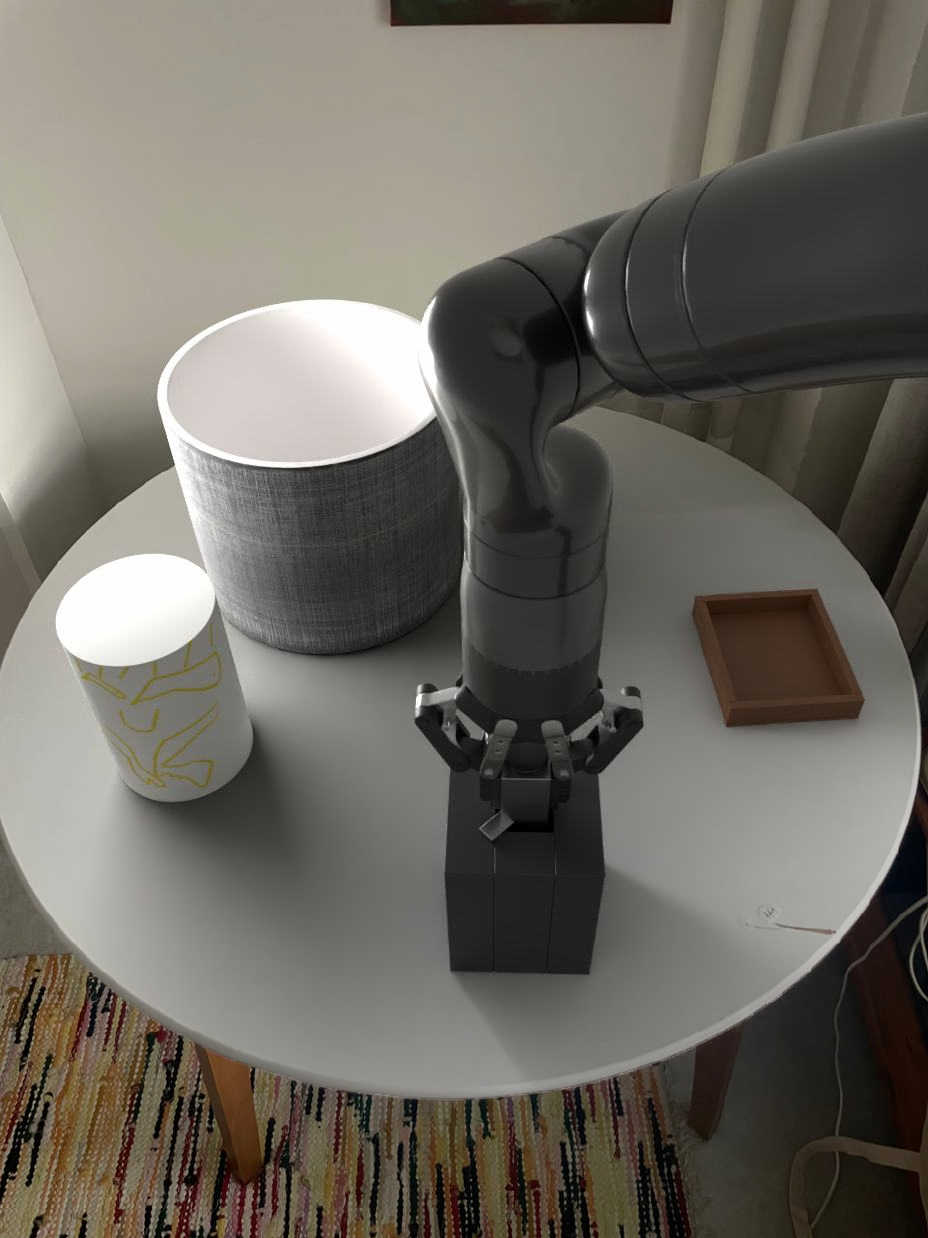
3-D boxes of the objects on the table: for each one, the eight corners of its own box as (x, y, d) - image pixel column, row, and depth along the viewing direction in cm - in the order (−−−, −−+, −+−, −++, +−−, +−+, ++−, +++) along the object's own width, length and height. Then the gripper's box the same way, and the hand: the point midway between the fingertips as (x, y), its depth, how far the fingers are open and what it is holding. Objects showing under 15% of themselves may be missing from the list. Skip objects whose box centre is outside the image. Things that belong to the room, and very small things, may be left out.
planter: (188, 660, 95) (127, 471, 79) (229, 485, 112) (186, 301, 96) (463, 655, 95) (457, 464, 79) (461, 481, 112) (456, 296, 96)
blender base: (582, 852, 80) (596, 745, 70) (589, 975, 74) (605, 876, 63) (455, 849, 81) (450, 743, 71) (450, 972, 74) (444, 873, 64)
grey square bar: (559, 839, 75) (571, 716, 65) (562, 912, 71) (575, 793, 61) (481, 838, 75) (480, 715, 65) (480, 910, 72) (478, 792, 61)
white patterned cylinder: (115, 813, 84) (50, 678, 71) (118, 705, 91) (60, 566, 79) (257, 787, 85) (218, 651, 73) (248, 683, 93) (211, 543, 81)
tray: (858, 718, 89) (865, 700, 87) (725, 727, 89) (730, 709, 87) (811, 606, 98) (817, 588, 97) (691, 613, 98) (695, 595, 96)
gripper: (393, 665, 52) (412, 847, 64) (675, 669, 51) (638, 851, 64) (404, 562, 57) (419, 749, 69) (660, 565, 56) (629, 752, 69)
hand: (524, 797), depth 66 cm, fingers closed on grey square bar, 3 cm apart
